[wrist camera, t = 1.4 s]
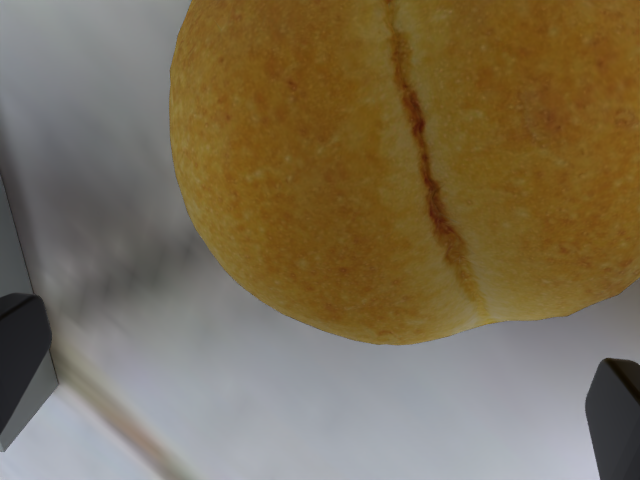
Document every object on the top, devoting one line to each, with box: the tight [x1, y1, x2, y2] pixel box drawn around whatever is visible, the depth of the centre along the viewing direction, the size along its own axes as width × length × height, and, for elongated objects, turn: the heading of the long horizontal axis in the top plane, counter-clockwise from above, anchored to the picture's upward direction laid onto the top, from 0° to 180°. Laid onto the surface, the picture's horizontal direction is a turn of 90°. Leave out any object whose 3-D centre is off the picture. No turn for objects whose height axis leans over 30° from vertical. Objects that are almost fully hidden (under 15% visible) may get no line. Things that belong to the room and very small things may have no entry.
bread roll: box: [169, 0, 640, 345], centre depth 9 cm, size 8×9×4 cm
